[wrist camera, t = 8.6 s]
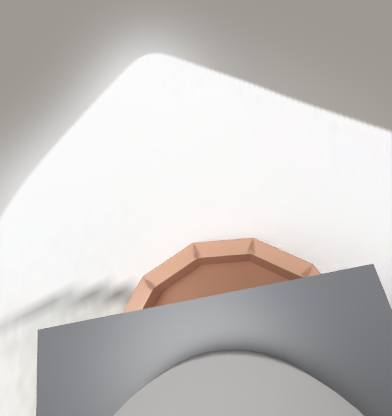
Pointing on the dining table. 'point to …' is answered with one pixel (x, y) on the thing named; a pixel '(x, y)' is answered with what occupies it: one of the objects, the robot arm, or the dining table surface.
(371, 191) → the dining table surface
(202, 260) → the ring dish
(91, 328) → the canister
